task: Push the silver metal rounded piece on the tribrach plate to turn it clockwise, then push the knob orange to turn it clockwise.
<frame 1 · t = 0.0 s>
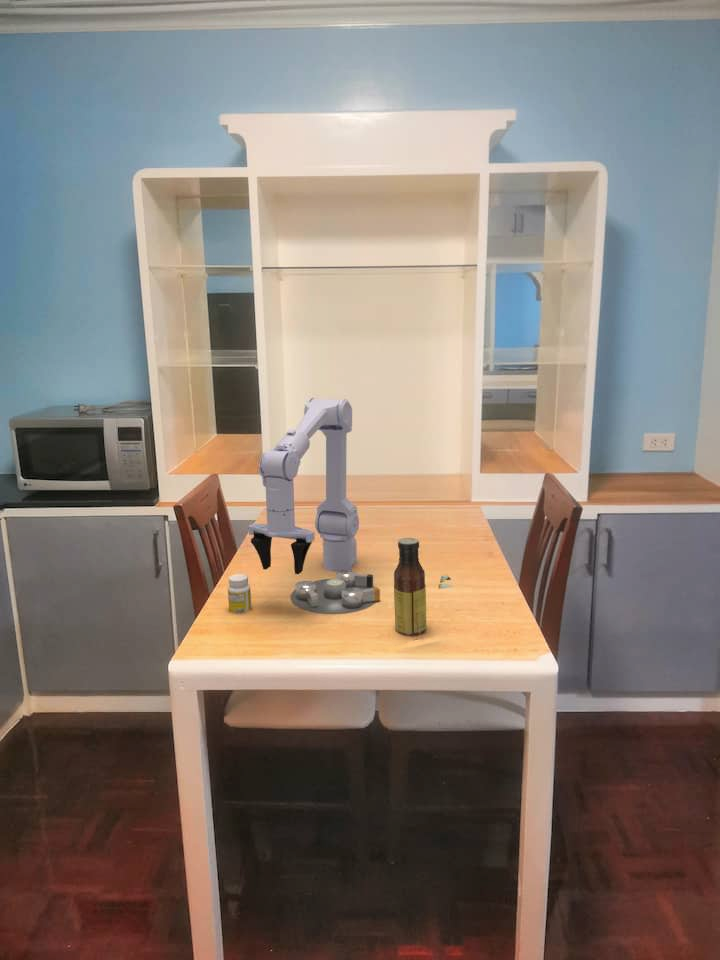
hand: (282, 570, 139), 10 cm above the table, tool pointing down, fingers open, 7 cm apart
knob black: (354, 579, 153), point 3 cm above the table, hinge at 0.0°
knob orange: (360, 596, 143), point 3 cm above the table, hinge at 0.0°
sauce bottle: (409, 635, 132), on the table
cloth: (417, 580, 162), on the table
supplement bottle: (240, 614, 142), on the table
silver metal rounded piece: (308, 593, 145), point 3 cm above the table, hinge at 0.0°
tribrach plate: (335, 600, 148), on the table
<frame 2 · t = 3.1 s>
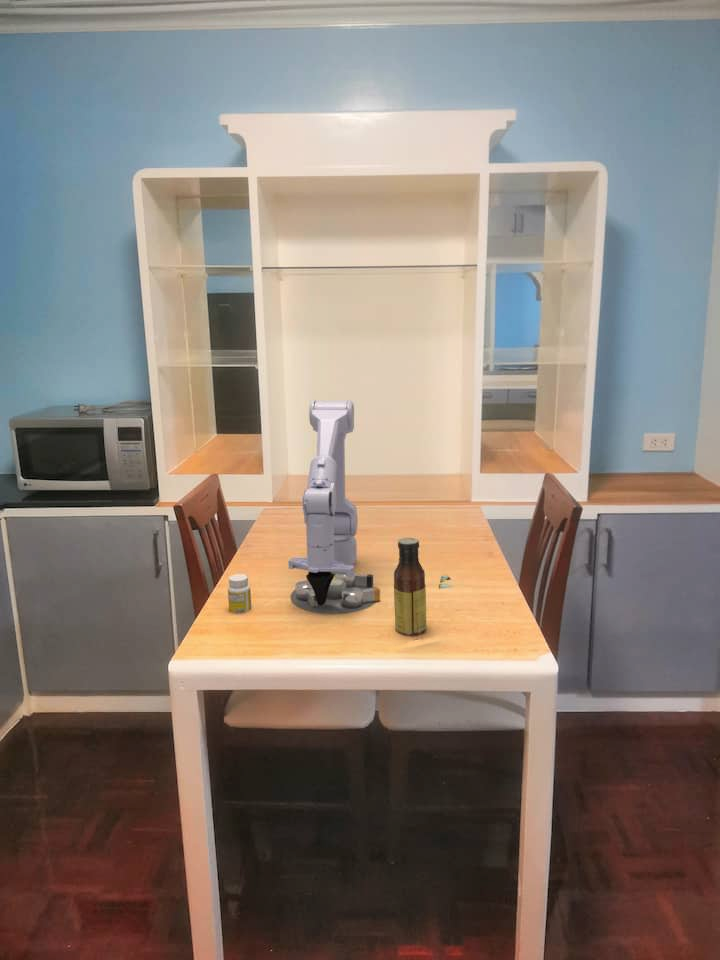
hand: (321, 603, 141), 2 cm above the table, tool pointing down, fingers closed, pressing on silver metal rounded piece
silver metal rounded piece: (308, 593, 145), point 3 cm above the table, hinge at -0.1°, touching gripper
everything else where it was.
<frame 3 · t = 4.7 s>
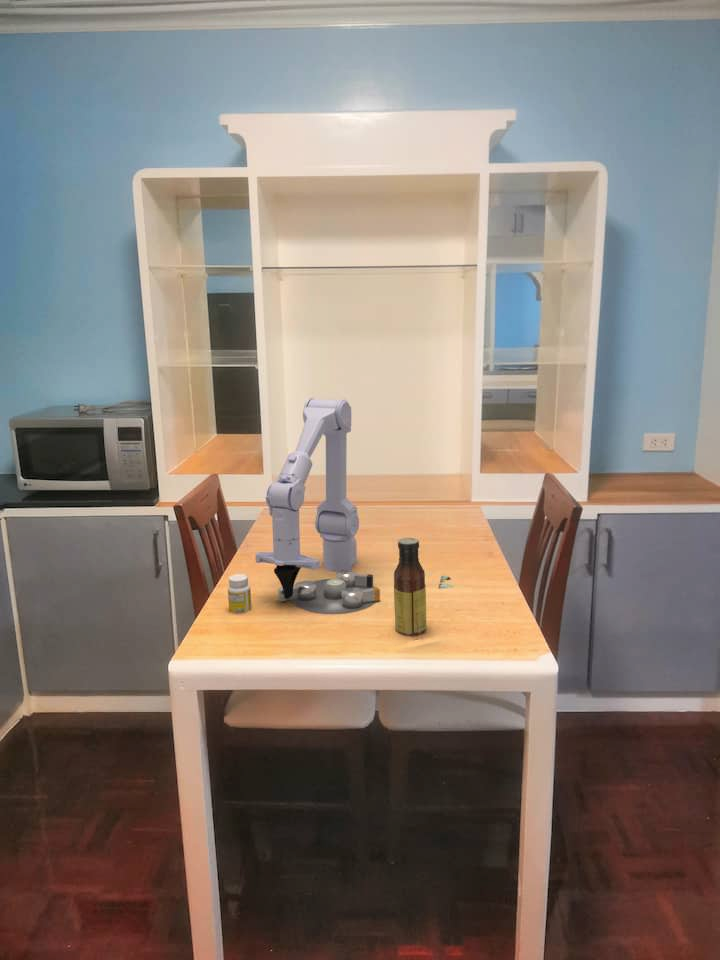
hand: (288, 596, 144), 3 cm above the table, tool pointing down, fingers closed, pressing on silver metal rounded piece
silver metal rounded piece: (297, 591, 146), point 3 cm above the table, hinge at -90.0°, touching gripper
everything else where it was.
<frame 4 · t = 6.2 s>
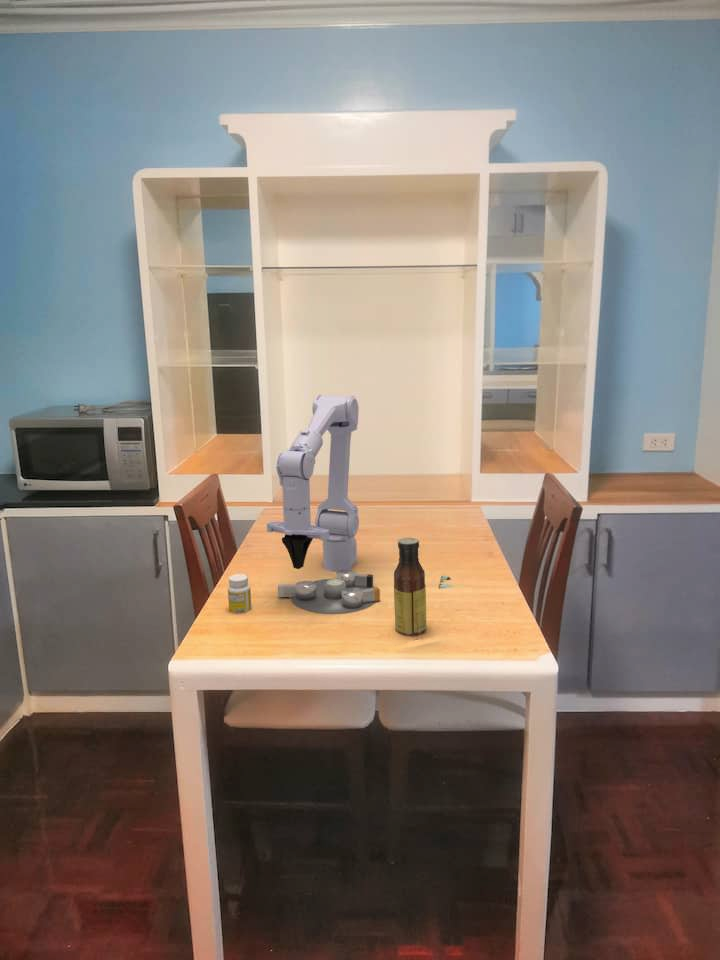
hand: (298, 567, 143), 9 cm above the table, tool pointing down, fingers closed
silver metal rounded piece: (297, 590, 147), point 3 cm above the table, hinge at -112.8°
everything else where it was.
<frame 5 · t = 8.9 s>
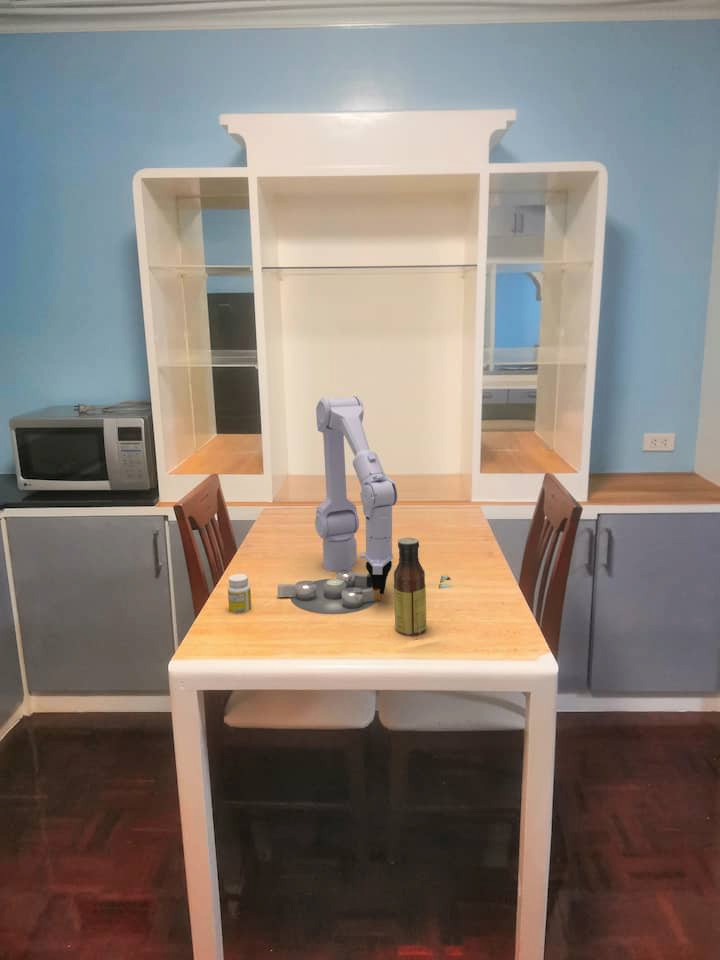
hand: (379, 593, 146), 2 cm above the table, tool pointing down, fingers closed, pressing on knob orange
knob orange: (360, 596, 143), point 3 cm above the table, hinge at -0.2°, touching gripper
everything else where it was.
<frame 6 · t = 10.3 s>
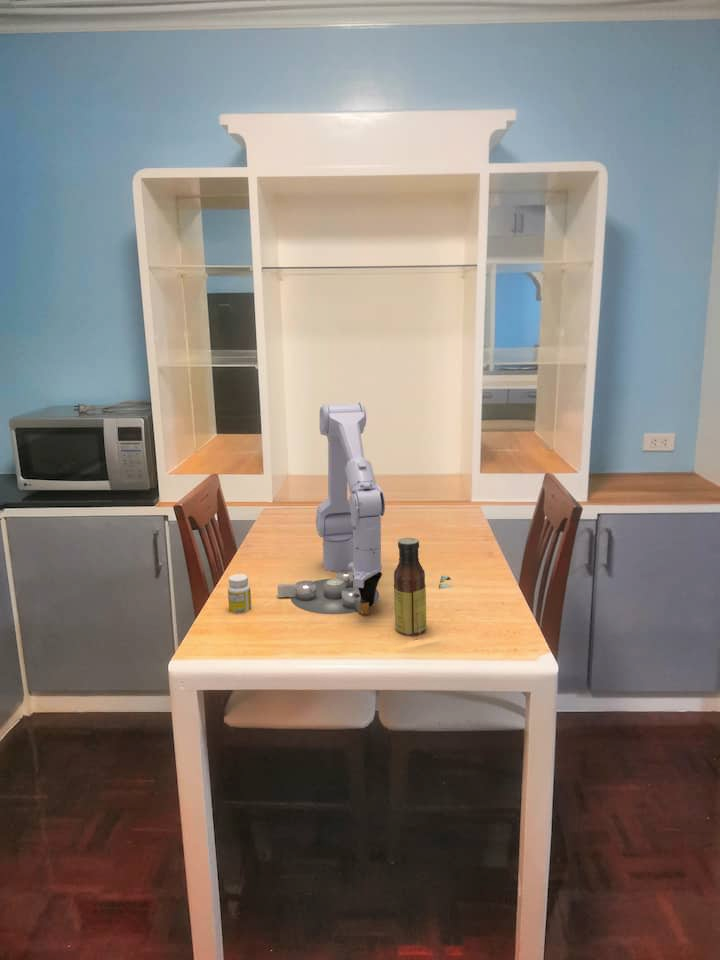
hand: (367, 605, 140), 2 cm above the table, tool pointing down, fingers closed, pressing on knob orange
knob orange: (356, 600, 141), point 3 cm above the table, hinge at -85.0°, touching gripper
everything else where it was.
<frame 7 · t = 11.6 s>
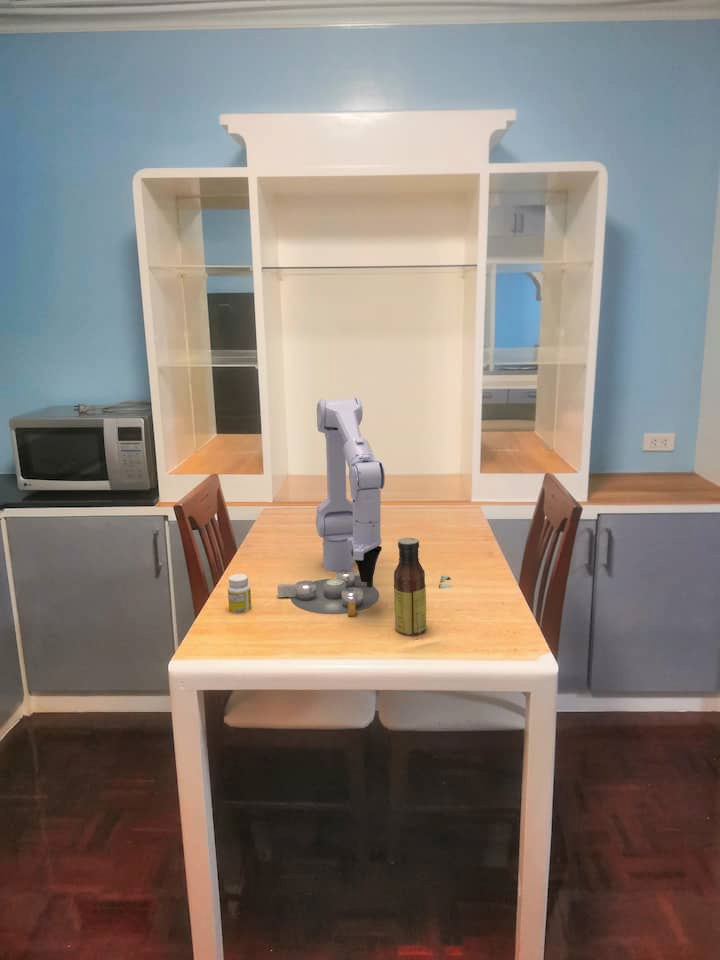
hand: (366, 581, 139), 8 cm above the table, tool pointing down, fingers closed
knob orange: (352, 601, 141), point 3 cm above the table, hinge at -112.9°
everything else where it was.
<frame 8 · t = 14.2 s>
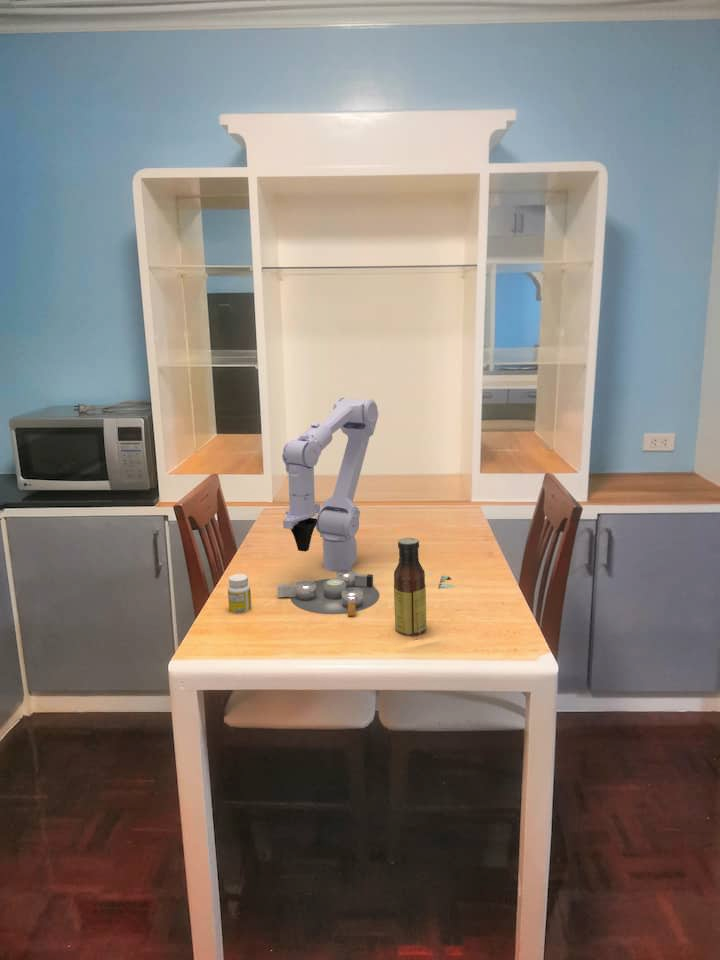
hand: (303, 550, 152), 10 cm above the table, tool pointing down, fingers closed
nothing on the table moved.
at the end: silver metal rounded piece at -113° (first picture: +0°); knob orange at -113° (first picture: +0°); knob black at +0° (first picture: +0°) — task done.
